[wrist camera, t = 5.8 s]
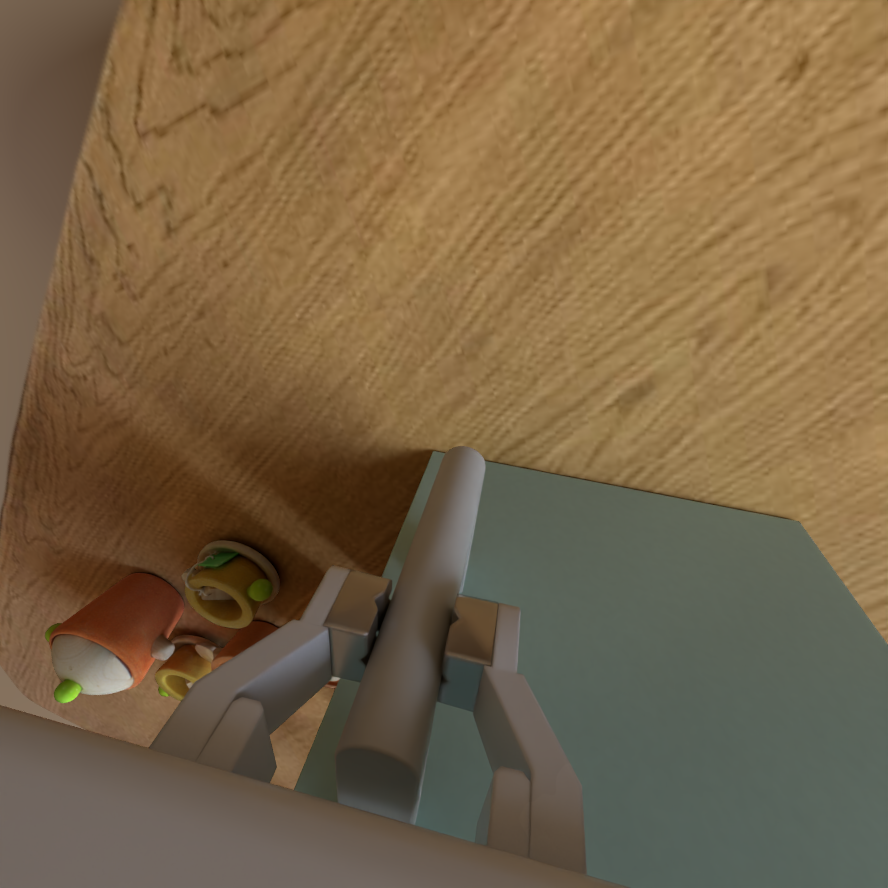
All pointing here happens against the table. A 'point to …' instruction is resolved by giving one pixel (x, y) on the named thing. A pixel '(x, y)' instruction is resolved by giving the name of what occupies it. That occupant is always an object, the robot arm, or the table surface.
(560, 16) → the table surface
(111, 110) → the table surface
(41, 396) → the table surface
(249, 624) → the toy tea set
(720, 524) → the cupboard door
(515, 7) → the table surface
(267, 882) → the robot arm
